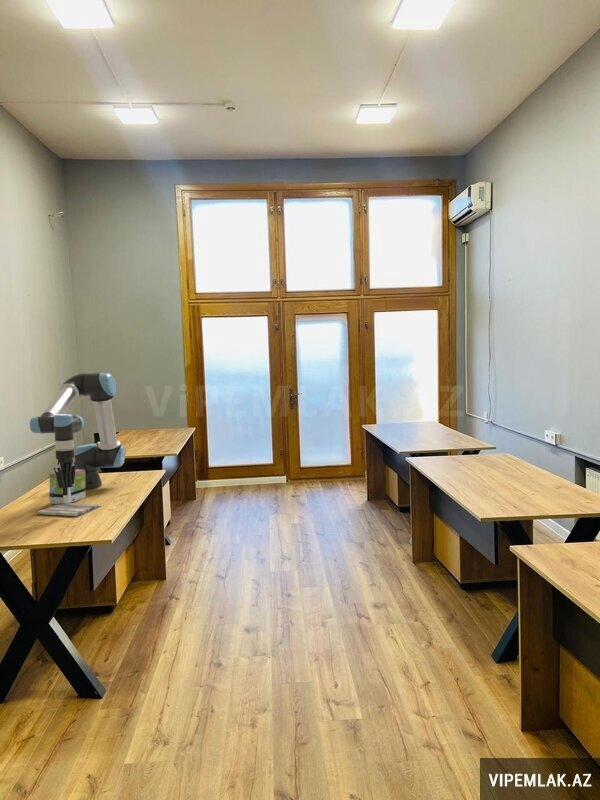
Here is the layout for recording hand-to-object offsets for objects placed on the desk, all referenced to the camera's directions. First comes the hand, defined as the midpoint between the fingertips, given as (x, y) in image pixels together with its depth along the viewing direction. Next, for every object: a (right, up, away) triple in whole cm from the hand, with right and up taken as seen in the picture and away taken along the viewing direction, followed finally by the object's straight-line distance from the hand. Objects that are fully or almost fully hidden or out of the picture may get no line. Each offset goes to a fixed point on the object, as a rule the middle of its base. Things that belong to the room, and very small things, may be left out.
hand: (67, 501), depth 235 cm
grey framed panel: (-3, -6, +9) cm, 11 cm away
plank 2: (+1, -6, +3) cm, 6 cm away
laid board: (-2, -5, +12) cm, 14 cm away
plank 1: (-9, -6, +5) cm, 12 cm away
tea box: (-11, -5, +27) cm, 29 cm away
